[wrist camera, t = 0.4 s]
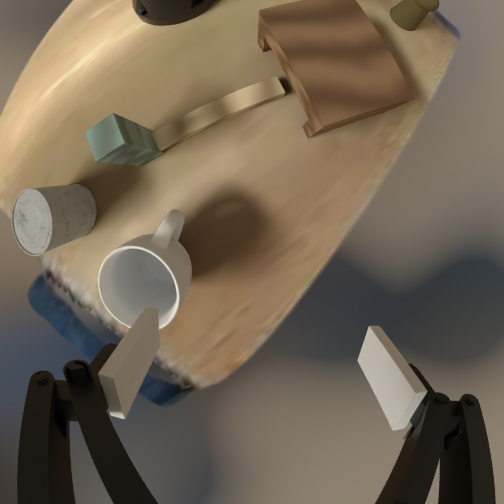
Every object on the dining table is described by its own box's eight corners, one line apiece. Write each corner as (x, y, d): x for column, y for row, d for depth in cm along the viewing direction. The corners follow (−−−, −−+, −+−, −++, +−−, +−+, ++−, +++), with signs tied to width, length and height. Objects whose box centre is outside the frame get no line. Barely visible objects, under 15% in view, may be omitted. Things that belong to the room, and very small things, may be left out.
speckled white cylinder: (81, 172, 39) (35, 174, 27) (105, 219, 41) (62, 233, 29) (49, 204, 40) (4, 213, 28) (72, 247, 42) (29, 267, 30)
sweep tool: (142, 166, 39) (96, 161, 25) (132, 144, 38) (85, 132, 24) (285, 98, 37) (300, 62, 23) (274, 77, 36) (283, 34, 22)
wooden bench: (257, 42, 34) (259, 10, 24) (333, 24, 33) (350, -6, 23) (307, 138, 38) (325, 125, 28) (383, 112, 37) (414, 98, 27)
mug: (158, 191, 40) (120, 197, 27) (222, 221, 41) (209, 239, 29) (127, 274, 43) (89, 306, 31) (185, 303, 45) (163, 346, 32)
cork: (413, 13, 30) (439, -10, 20) (418, 34, 32) (448, 13, 21) (387, 3, 30) (411, -23, 20) (392, 25, 32) (419, -1, 21)
